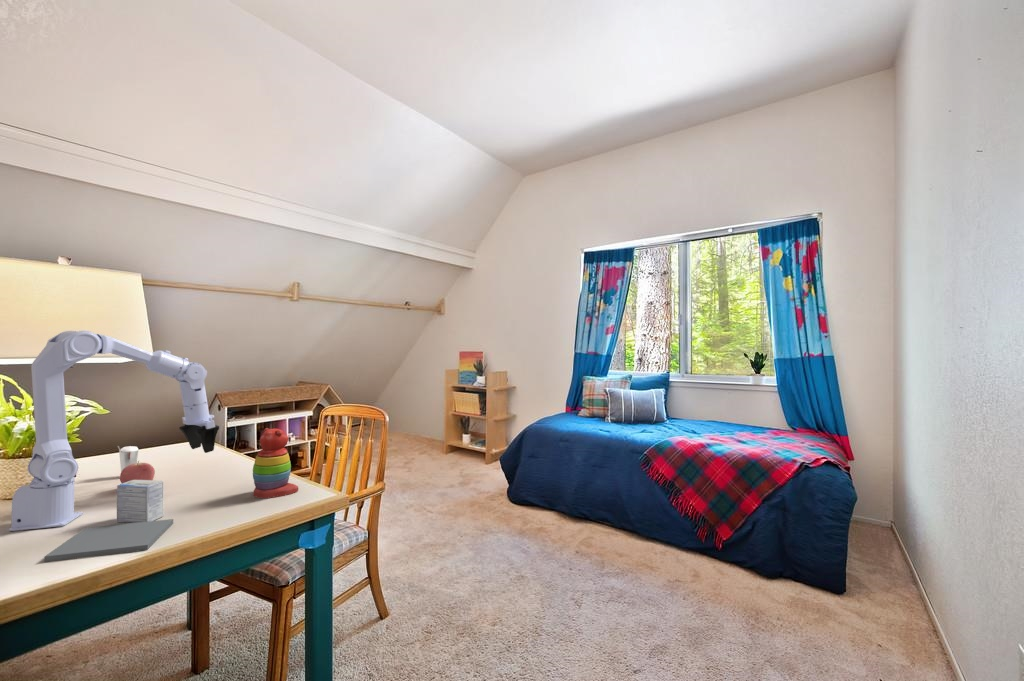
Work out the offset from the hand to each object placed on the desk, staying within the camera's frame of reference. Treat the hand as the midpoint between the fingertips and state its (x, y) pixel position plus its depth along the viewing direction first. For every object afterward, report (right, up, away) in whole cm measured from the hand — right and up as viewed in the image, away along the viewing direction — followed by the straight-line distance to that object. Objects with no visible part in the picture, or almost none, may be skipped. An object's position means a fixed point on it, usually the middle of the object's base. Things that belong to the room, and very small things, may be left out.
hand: (202, 449), depth 130 cm
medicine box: (+2, -11, -25) cm, 27 cm away
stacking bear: (+23, -11, -4) cm, 26 cm away
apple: (-16, -11, -3) cm, 19 cm away
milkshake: (-29, -10, +8) cm, 31 cm away
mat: (+6, -10, -36) cm, 38 cm away
